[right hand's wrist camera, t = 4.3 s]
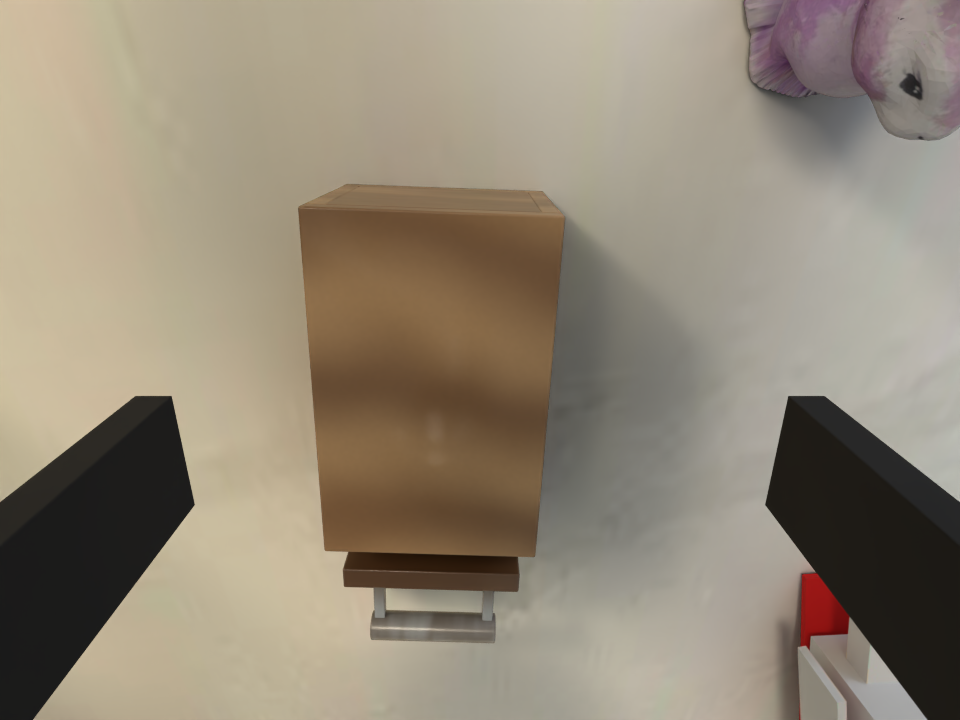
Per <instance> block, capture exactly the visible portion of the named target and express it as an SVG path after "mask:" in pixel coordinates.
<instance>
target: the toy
mask: <svg viewBox="0 0 960 720" xmlns="http://www.w3.org/2000/svg"><path fill="white" fill-rule="evenodd" d="M798 669H799V693H800V703H799V720H927V719H926V718H925V716H924V715H923V714H922V712H921V711H920V710H919V708H918V707H917V706H916V704H915V703H914V702H913V700H912V699H911V698H910V696H909V695H908V694H907V692H906V691H905V690H904V688H903V687H902V686H901V684H900V683H899V682H898V680H897V679H896V678H895V676H894V675H893V674H892V672H891V671H890V670H889V668H888V667H887V666H886V664H885V663H884V662H883V660H882V659H881V658H880V656H879V655H878V654H877V652H876V651H875V650H874V648H873V647H872V646H871V644H870V643H869V642H868V641H867V639H866V638H865V637H864V635H863V634H862V633H861V631H860V630H859V629H858V627H857V626H856V625H855V623H854V622H853V621H852V619H851V618H850V617H849V615H848V614H847V613H846V611H845V610H844V609H843V607H842V606H841V605H840V603H839V602H838V601H837V599H836V598H835V597H834V595H833V594H832V593H831V591H830V590H829V589H828V587H827V586H826V585H825V583H824V582H823V581H822V579H821V578H820V577H819V575H818V574H817V573H814V574H802V605H801V647H798Z"/></svg>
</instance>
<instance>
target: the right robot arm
mask: <svg viewBox="0 0 960 720" xmlns="http://www.w3.org/2000/svg"><path fill="white" fill-rule="evenodd" d="M194 505H195V504H194V499H193V495H192V490H191V485H190V480H189V476H188V471H187V466H186V462H185V457H184V452H183V448H182V443H181V438H180V433H179V429H178V424H177V419H176V415H175V410H174V405H173V401H172V396H135V397H134V398H133V399H131V400H130V401H129V402H127V403H126V404H125V405H124V406H122V407H121V408H120V409H119V410H117V411H116V412H115V413H113V414H112V415H111V416H110V417H108V418H107V419H106V420H105V421H103V422H102V423H101V424H99V425H98V426H97V427H96V428H94V429H93V430H92V431H90V432H89V433H88V434H87V435H85V436H84V437H83V438H82V439H80V440H79V441H78V442H76V443H75V444H74V445H73V446H71V447H70V448H69V449H68V450H66V451H65V452H64V453H62V454H61V455H60V456H59V457H57V458H56V459H55V460H53V461H52V462H51V463H50V464H48V465H47V466H46V467H45V468H43V469H42V470H41V471H39V472H38V473H37V474H36V475H34V476H33V477H32V478H31V479H29V480H28V481H27V482H25V483H24V484H23V485H22V486H20V487H19V488H18V489H16V490H15V491H14V492H13V493H11V494H10V495H9V496H8V497H6V498H5V499H4V500H2V501H1V502H0V720H33V719H34V718H35V716H36V715H37V714H38V712H39V711H40V710H41V708H42V707H43V706H44V704H45V703H46V702H47V700H48V699H49V698H50V696H51V695H52V694H53V692H54V691H55V690H56V688H57V687H58V686H59V684H60V683H61V682H62V680H63V679H64V678H65V676H66V675H67V674H68V672H69V671H70V670H71V668H72V667H73V666H74V664H75V663H76V662H77V660H78V659H79V658H80V656H81V655H82V654H83V652H84V651H85V650H86V648H87V647H88V646H89V644H90V643H91V642H92V641H93V639H94V638H95V637H96V635H97V634H98V633H99V631H100V630H101V629H102V627H103V626H104V625H105V623H106V622H107V621H108V619H109V618H110V617H111V615H112V614H113V613H114V611H115V610H116V609H117V607H118V606H119V605H120V603H121V602H122V601H123V599H124V598H125V597H126V595H127V594H128V593H129V591H130V590H131V589H132V587H133V586H134V585H135V583H136V582H137V581H138V579H139V578H140V577H141V575H142V574H143V573H144V571H145V570H146V569H147V568H148V566H149V565H150V564H151V562H152V561H153V560H154V558H155V557H156V556H157V554H158V553H159V552H160V550H161V549H162V548H163V546H164V545H165V544H166V542H167V541H168V540H169V538H170V537H171V536H172V534H173V533H174V532H175V530H176V529H177V528H178V526H179V525H180V524H181V522H182V521H183V520H184V518H185V517H186V516H187V514H188V513H189V512H190V510H191V509H192V508H193V506H194ZM765 505H766V506H767V508H768V509H769V510H770V512H771V513H772V514H773V516H774V517H775V518H776V520H777V521H778V522H779V524H780V525H781V526H782V528H783V529H784V530H785V532H786V533H787V534H788V536H789V537H790V538H791V540H792V541H793V542H794V544H795V545H796V546H797V548H798V549H799V550H800V552H801V553H802V554H803V556H804V557H805V558H806V560H807V561H808V562H809V564H810V565H811V566H812V568H813V569H814V570H815V571H816V573H817V574H818V575H819V577H820V578H821V579H822V581H823V582H824V583H825V585H826V586H827V587H828V589H829V590H830V591H831V593H832V594H833V595H834V597H835V598H836V599H837V601H838V602H839V603H840V605H841V606H842V607H843V609H844V610H845V611H846V613H847V614H848V615H849V617H850V618H851V619H852V621H853V622H854V623H855V625H856V626H857V627H858V629H859V630H860V631H861V633H862V634H863V635H864V637H865V638H866V639H867V641H868V642H869V643H870V644H871V646H872V647H873V648H874V650H875V651H876V652H877V654H878V655H879V656H880V658H881V659H882V660H883V662H884V663H885V664H886V666H887V667H888V668H889V670H890V671H891V672H892V674H893V675H894V676H895V678H896V679H897V680H898V682H899V683H900V684H901V686H902V687H903V688H904V690H905V691H906V692H907V694H908V695H909V696H910V698H911V699H912V700H913V702H914V703H915V704H916V706H917V707H918V708H919V710H920V711H921V712H922V714H923V715H924V716H925V718H926V719H927V720H960V502H959V501H958V500H956V499H955V498H954V497H952V496H951V495H950V494H949V493H947V492H946V491H945V490H944V489H942V488H941V487H940V486H938V485H937V484H936V483H935V482H933V481H932V480H931V479H929V478H928V477H927V476H926V475H924V474H923V473H922V472H921V471H919V470H918V469H917V468H915V467H914V466H913V465H912V464H910V463H909V462H908V461H907V460H905V459H904V458H903V457H901V456H900V455H899V454H898V453H896V452H895V451H894V450H892V449H891V448H890V447H889V446H887V445H886V444H885V443H884V442H882V441H881V440H880V439H878V438H877V437H876V436H875V435H873V434H872V433H871V432H870V431H868V430H867V429H866V428H864V427H863V426H862V425H861V424H859V423H858V422H857V421H855V420H854V419H853V418H852V417H850V416H849V415H848V414H847V413H845V412H844V411H843V410H841V409H840V408H839V407H838V406H836V405H835V404H834V403H833V402H831V401H830V400H829V399H827V398H826V397H825V396H788V401H787V405H786V410H785V415H784V419H783V424H782V429H781V433H780V438H779V443H778V448H777V452H776V457H775V462H774V466H773V471H772V476H771V480H770V485H769V490H768V495H767V499H766V504H765Z"/></svg>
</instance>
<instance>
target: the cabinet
mask: <svg viewBox="0 0 960 720" xmlns="http://www.w3.org/2000/svg"><path fill="white" fill-rule="evenodd" d="M298 212H299V225H300V238H301V251H302V264H303V277H304V290H305V302H306V315H307V328H308V341H309V354H310V367H311V380H312V393H313V406H314V419H315V432H316V445H317V458H318V471H319V484H320V497H321V510H322V523H323V536H324V549H325V551H343V552H377V553H411V554H445V555H479V556H513V557H535V553H536V541H537V530H538V519H539V507H540V496H541V485H542V473H543V462H544V451H545V440H546V428H547V417H548V406H549V394H550V383H551V372H552V360H553V349H554V338H555V327H556V315H557V304H558V293H559V281H560V270H561V259H562V247H563V236H564V225H565V216H564V215H563V214H562V213H561V212H560V211H559V210H558V208H557V207H556V206H555V205H554V204H553V203H552V202H551V201H550V200H549V198H548V197H547V196H546V195H545V194H544V193H543V192H542V191H517V190H491V189H464V188H437V187H411V186H384V185H357V184H346V185H344V186H342V187H340V188H338V189H336V190H334V191H331V192H329V193H327V194H325V195H323V196H321V197H318V198H316V199H314V200H312V201H310V202H308V203H305V204H303V205H301V206H299V207H298Z"/></svg>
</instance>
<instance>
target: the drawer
mask: <svg viewBox="0 0 960 720" xmlns="http://www.w3.org/2000/svg"><path fill="white" fill-rule="evenodd" d="M343 579H344V587H366V588H374V611H373V614H372V618H371V628H370V637H371V640H395V641H431V642H467V643H494V642H495V613H493V598H494V591H505V592H518V588H519V563H518V557H513V556H479V555H445V554H411V553H377V552H348V555H347V558H346V561H345V564H344V568H343ZM386 588H401V589H435V590H470V591H483V603H482V613H473V612H437V611H402V610H386Z"/></svg>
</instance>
